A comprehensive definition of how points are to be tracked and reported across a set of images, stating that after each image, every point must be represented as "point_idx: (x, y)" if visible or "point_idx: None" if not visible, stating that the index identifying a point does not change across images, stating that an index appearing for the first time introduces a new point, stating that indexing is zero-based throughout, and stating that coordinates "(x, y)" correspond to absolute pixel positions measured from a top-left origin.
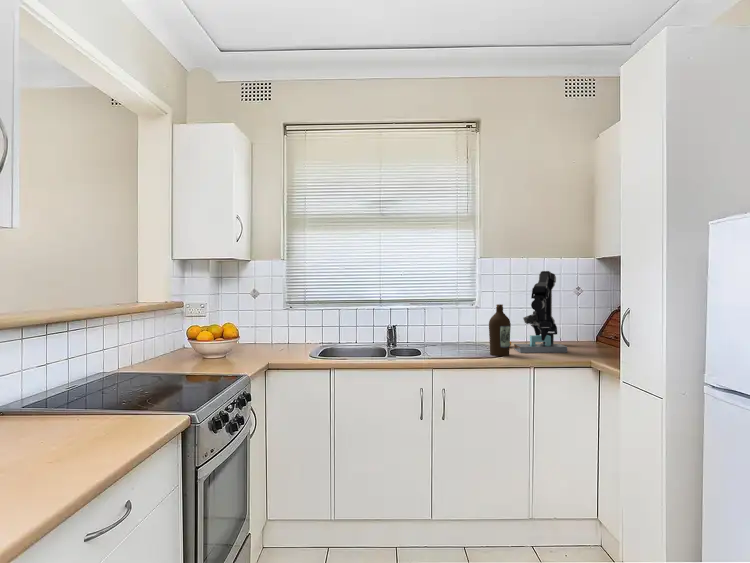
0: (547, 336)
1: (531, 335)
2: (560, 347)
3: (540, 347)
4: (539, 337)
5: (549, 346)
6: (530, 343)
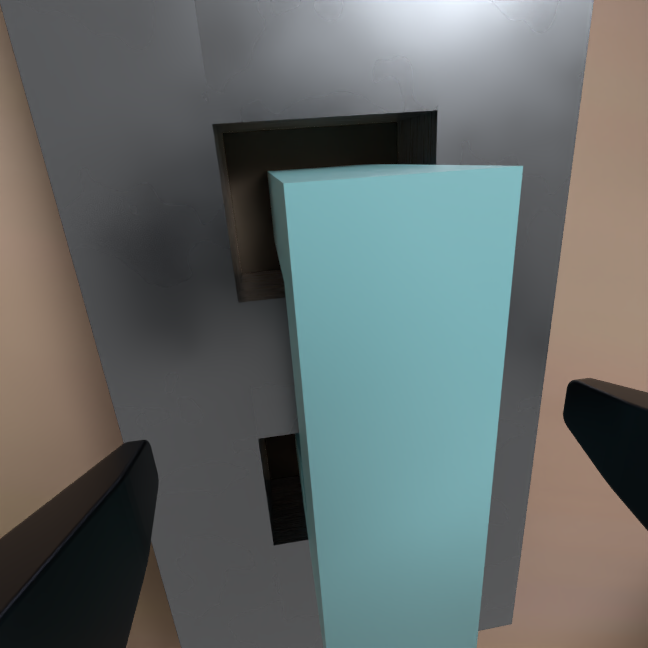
0: (326, 636)
1: (498, 228)
2: (174, 611)
3: (97, 325)
4: (303, 439)
5: (187, 488)
6: (361, 167)
